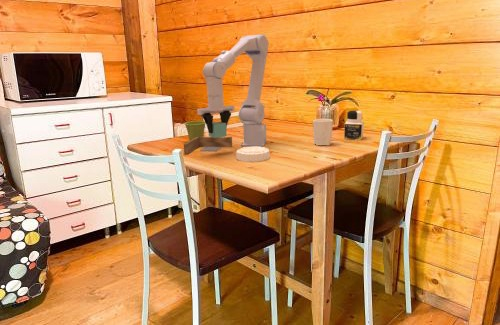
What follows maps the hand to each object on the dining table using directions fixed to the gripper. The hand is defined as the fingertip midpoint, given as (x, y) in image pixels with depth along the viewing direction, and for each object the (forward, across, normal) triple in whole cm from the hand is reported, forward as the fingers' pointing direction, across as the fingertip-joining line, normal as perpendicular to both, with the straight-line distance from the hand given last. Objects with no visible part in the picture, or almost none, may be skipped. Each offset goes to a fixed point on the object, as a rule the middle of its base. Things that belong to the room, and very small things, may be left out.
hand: (217, 132), depth 143 cm
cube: (+2, 0, 0) cm, 2 cm away
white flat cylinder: (+9, +7, -14) cm, 18 cm away
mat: (+8, +1, +9) cm, 12 cm away
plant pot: (+9, +3, +26) cm, 28 cm away
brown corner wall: (+8, 0, +8) cm, 11 cm away
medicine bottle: (+9, +60, -12) cm, 62 cm away
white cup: (+9, +42, -13) cm, 44 cm away
